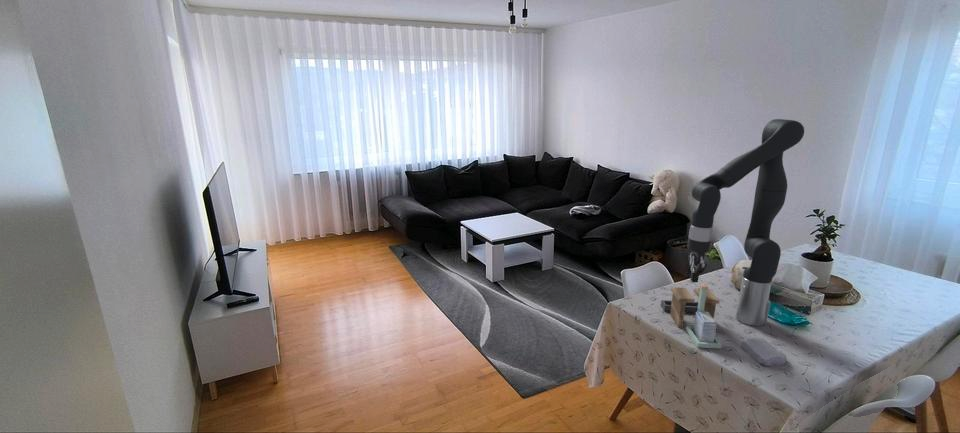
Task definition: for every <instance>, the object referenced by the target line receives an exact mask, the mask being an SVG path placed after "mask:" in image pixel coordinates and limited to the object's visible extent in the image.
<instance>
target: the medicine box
mask: <svg viewBox="0 0 960 433" xmlns="http://www.w3.org/2000/svg"><path fill="white" fill-rule="evenodd" d="M694 314H695V316H694V320H693V321H694V323H693V327H694V328H693V331H692V332H693V333H694V335H695V336H696V337H697V339H698V340H699V342H705V343H714V339H715V337H716V330H717V323H718V322H717V321H716V320H715V318H714V319H713V318H712V316H711V315H710V314H709V313H708V312H696V313H694Z"/></svg>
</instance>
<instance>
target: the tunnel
mask: <svg viewBox="0 0 960 433" xmlns="http://www.w3.org/2000/svg"><path fill="white" fill-rule="evenodd" d="M670 291H671V293H672V297H671V301H672V303H671V311H670V312H669V315H670V317H671V319H672V320H673V322H674V324H675V326H676V327H677V328H679V329H680V328H682V329H683V324H684V318H685V317H684V316H685V313H684V311H685V304H686V302H696V300H695V299H696V298H695V297H693V295H692V294H691V293H690V291H689V290H688V289H687V288H686V287H676V286H675V287H674V286H671V287H670ZM693 293H694V294H695V295H696V296H697V298H699V294H700V287H699V288H696V287H694V288H693ZM717 304H720V299H719V298H718V297H717V296H716V294H714V293H713V292H712V290H710V289H709V288H708V289H707V293H706V299H705V306H704V312H708V313H709V314H710V315H711V316H712V318H713V319H714V320H715V313H716V307H717Z"/></svg>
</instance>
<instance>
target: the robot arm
mask: <svg viewBox="0 0 960 433" xmlns="http://www.w3.org/2000/svg"><path fill="white" fill-rule="evenodd" d="M804 136H805V127H804V125H803V124H802V123H801V122H799V121H797V120H793V119H783V118H776V119H771V120H770V121H768V122H767V123H766V125H765V126H764V127H763V130H762V134H761V144H760V145H758V146H756V147H755V148H753V149H751V150H749V151H746V152H745V153H743V154H741V155H739V156H737V157H735V158H733V159H732V160H730V161H729V162H728V163H726V164H725V165H724V166H723V167H721V168H720V169H719V170H717V171H716V172H714V173H712V174H710V175H709V176H706V177H705V178H703V179H701V180H699V181H698V182H697V183H696V184H695V185H694V186H693V188H692V190H691V197H692V198H693V199H694V200H695V201H697V202H699V203H698V207H697V208H696V209H694V210H693V211H692V214H691V221H690V228H689V232H688V237H687V238H688V239H687V245H686V246H687V249H688V251H690V252H688V253H687V258H688V265H689V266H688V267H689V269H690V271H691V273H690V281H691V283H698V282H699V279H700V278H699V276H700V274H701V275H702V274H703V273H704V271H705V270H706V269H707V267H708V264H707V263H705V259H706V256H705V255H706V253H708V252H710V251H711V248H712V247H711V245H712V239H713V238H712V237H713V225H714V220H715V214H716V213H717V211H718V207H719V205H720V203H721V198H722V196H721V195H722V194H721V190H722V189H729V188H731V187H733V186H735V185H736V184H737V183H738V182H740V181H741V180H742V179H744V178H745V177H747V175H749V174H750V173H751V172H753V171H754V170H755V169H757V168H759V169H758V175H757V180H756V181H757V182H756V186H755V191H754V199H753V204H752V205H753V206H752V211H751V216H750V217H751V219H750V223H749V227H748V230H747V233H746V236H745V240H744V244H743V248H744V252H745V254H746V255H747V256H748V257H749V258H751V261H752V262H751V266H750V267H749V268H746V269H745V270H744V273H743V278H742V284H741V290H739V296H738V302H737V308H736V311H735V312H736V314H735V319H736V320H738V322H740V323H743V324H745V325H748V326H755V327H761V326H763V325H765V326H766V325H767V322H768V318H769V317H768V316H769V312H770V308H771V300H770V298H769V297H770V292H771V287H772V283H773V279H774V277H775V276H776V274H777V272H778V268H779V263H780V259H781V254H782V252H781V250H782V249H781V247H780V245H779V244H778V243H777V242H776V241H774V240H773V239H771V238H770V237H771V236H770V235H771V228H772V225H773V221H774V219H775V218H776V217H777V215H779V213H780V212H781V210H782V209H783V206H784V205H785V202H786V196H787V191H788V180H787V174H786V171H785V168H784V162H783V157H784V152H786V151H787V150H789V149H792V148H793V147H794V146H795V145H798V144H799V143H800V142H801V141H802V139H803V137H804Z"/></svg>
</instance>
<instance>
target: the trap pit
mask: <svg viewBox="0 0 960 433" xmlns="http://www.w3.org/2000/svg"><path fill="white" fill-rule="evenodd" d="M671 303H672V300H667V299H666V300H665V299H662V300H660V307H661V309H662V310H663V312H668V313H670V311H671ZM697 308H698V301H695V302H686V304H685V311H684V314H685V313H687V314H688V313H689V314H696V312H697Z"/></svg>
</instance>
